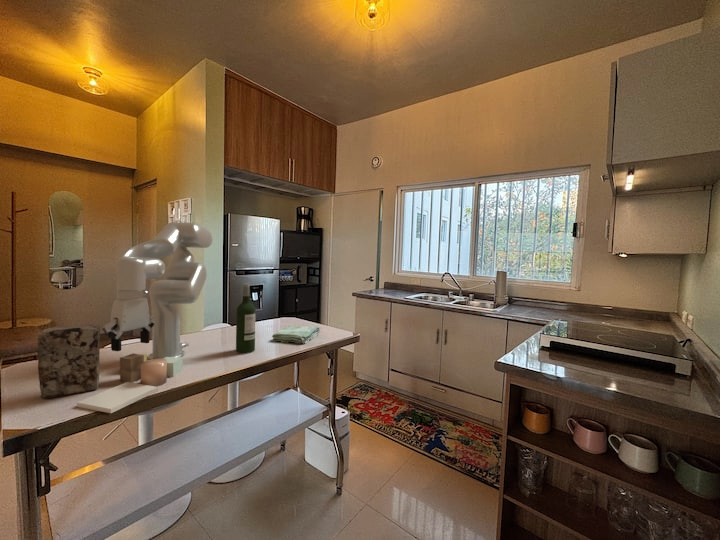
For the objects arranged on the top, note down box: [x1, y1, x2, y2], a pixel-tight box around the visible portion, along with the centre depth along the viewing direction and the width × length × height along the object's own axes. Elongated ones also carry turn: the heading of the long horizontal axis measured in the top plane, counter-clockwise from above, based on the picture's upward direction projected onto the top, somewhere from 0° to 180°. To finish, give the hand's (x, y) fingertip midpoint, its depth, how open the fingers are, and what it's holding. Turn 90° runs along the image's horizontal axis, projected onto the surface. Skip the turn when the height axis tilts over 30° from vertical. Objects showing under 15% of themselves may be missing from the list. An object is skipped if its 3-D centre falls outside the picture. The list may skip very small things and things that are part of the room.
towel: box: [271, 325, 321, 344], centre depth 157 cm, size 18×21×5 cm
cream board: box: [76, 382, 159, 414], centre depth 88 cm, size 14×12×1 cm
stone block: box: [37, 323, 101, 399], centre depth 90 cm, size 13×7×20 cm, turn 131°
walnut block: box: [119, 352, 144, 383], centre depth 100 cm, size 4×4×8 cm
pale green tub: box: [163, 356, 184, 378], centre depth 106 cm, size 6×6×5 cm
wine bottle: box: [235, 283, 256, 354], centre depth 133 cm, size 8×8×30 cm
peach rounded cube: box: [140, 359, 168, 387], centre depth 98 cm, size 7×7×7 cm
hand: (131, 346), depth 99 cm, fingers open, 9 cm apart
